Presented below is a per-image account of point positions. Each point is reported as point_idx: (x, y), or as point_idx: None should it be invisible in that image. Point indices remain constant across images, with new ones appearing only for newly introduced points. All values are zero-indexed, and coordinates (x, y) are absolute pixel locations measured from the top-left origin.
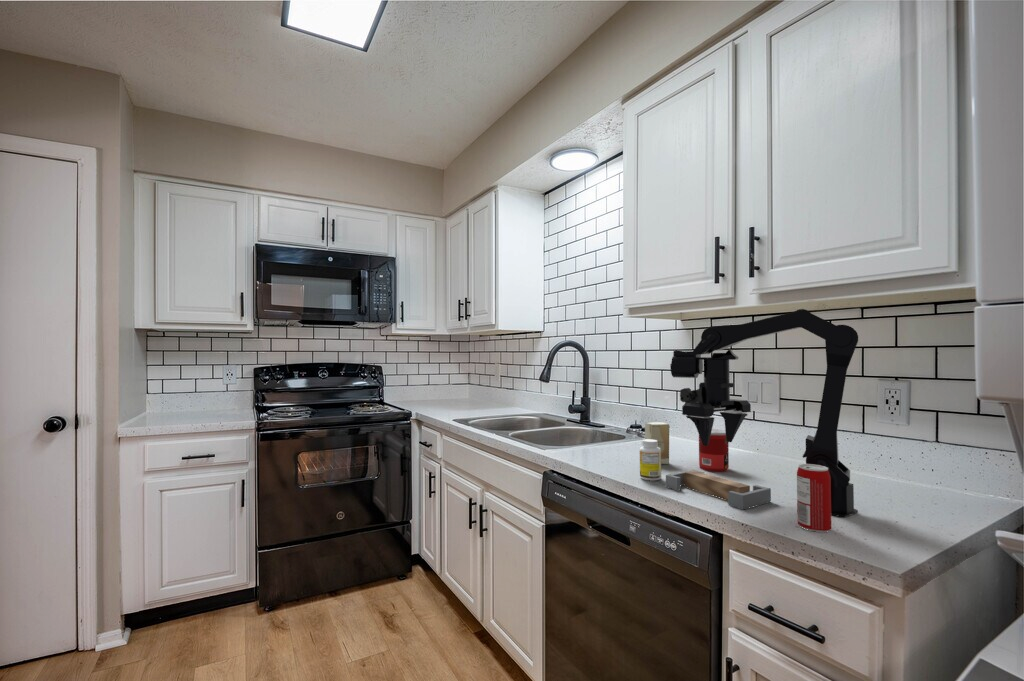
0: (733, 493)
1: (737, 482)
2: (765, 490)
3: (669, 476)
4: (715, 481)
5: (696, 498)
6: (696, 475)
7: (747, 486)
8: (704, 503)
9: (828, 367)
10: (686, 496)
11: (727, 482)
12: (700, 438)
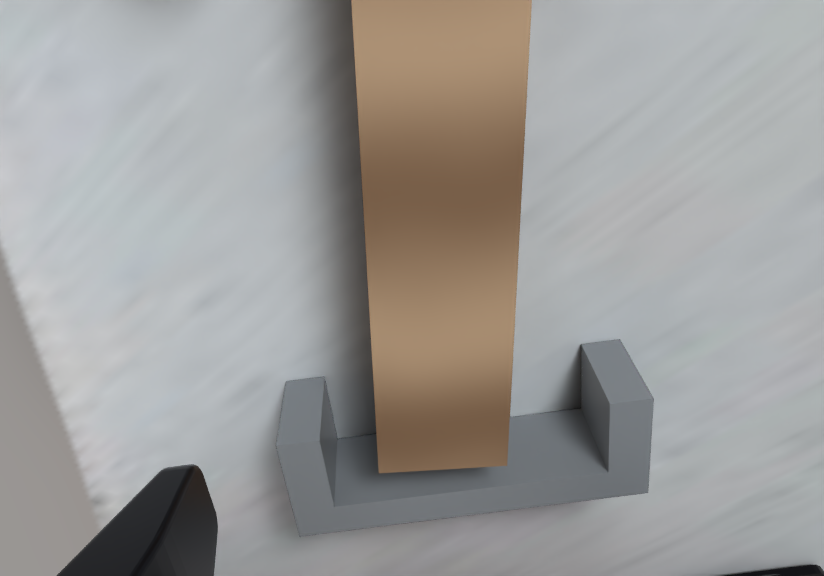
0: (285, 477)
1: (506, 372)
2: (578, 496)
3: None
4: (367, 256)
5: (174, 166)
6: None
7: (477, 466)
8: (148, 287)
9: None
10: (124, 81)
11: (427, 338)
12: (71, 563)
